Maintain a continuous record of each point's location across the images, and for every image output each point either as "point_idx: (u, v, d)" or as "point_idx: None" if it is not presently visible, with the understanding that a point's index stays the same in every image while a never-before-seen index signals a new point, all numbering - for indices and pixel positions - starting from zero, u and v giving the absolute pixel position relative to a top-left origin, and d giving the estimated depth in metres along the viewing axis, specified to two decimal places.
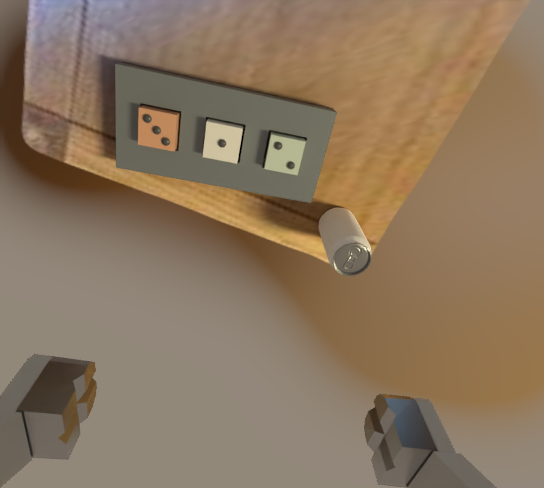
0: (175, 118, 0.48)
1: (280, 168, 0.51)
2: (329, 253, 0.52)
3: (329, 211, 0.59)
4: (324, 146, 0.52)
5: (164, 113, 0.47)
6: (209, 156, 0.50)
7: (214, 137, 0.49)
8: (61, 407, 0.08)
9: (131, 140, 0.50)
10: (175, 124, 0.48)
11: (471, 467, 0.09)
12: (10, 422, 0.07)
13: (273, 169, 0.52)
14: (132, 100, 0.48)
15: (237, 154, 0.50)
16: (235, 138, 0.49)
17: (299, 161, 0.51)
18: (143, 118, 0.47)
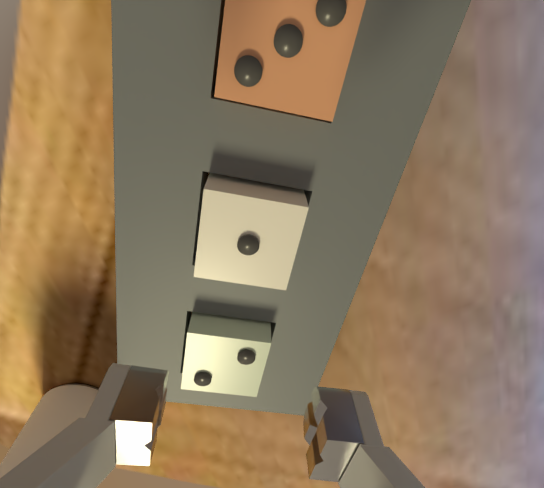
0: (323, 116, 0.15)
1: (192, 361, 0.22)
2: None
3: None
4: (243, 405, 0.26)
5: (341, 79, 0.14)
6: (207, 208, 0.17)
7: (264, 225, 0.17)
8: (150, 416, 0.08)
9: None
10: (303, 112, 0.15)
11: (396, 460, 0.08)
12: (105, 431, 0.08)
13: (188, 349, 0.21)
14: None
15: (219, 278, 0.19)
16: (261, 274, 0.19)
17: (213, 390, 0.23)
18: None
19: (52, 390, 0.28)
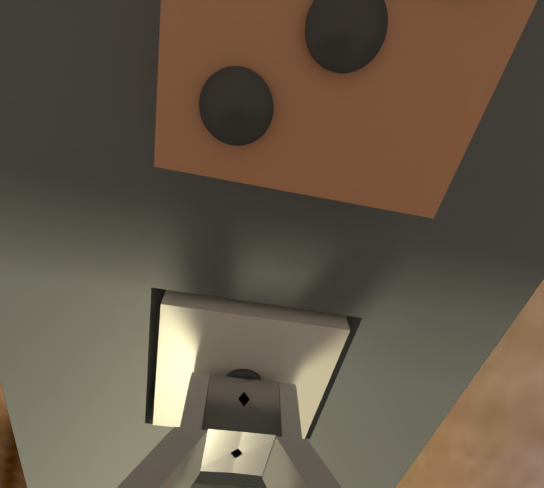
0: (413, 207, 0.06)
1: None
2: None
3: None
4: None
5: (468, 126, 0.06)
6: (169, 333, 0.09)
7: (270, 356, 0.10)
8: (239, 424, 0.08)
9: None
10: (368, 199, 0.06)
11: (312, 453, 0.08)
12: (200, 439, 0.08)
13: None
14: None
15: None
16: None
17: None
18: None
19: None
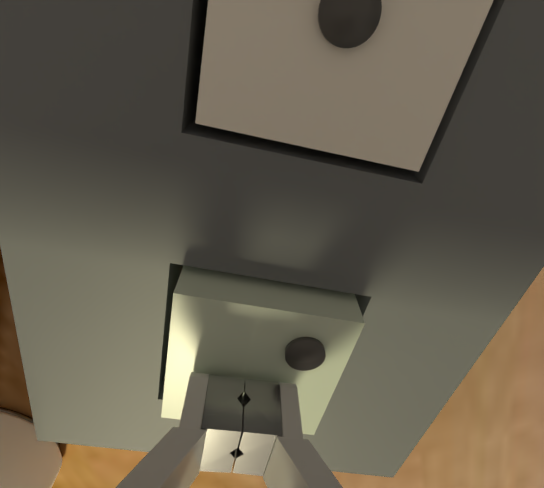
0: None
1: (186, 360, 0.10)
2: None
3: (33, 443, 0.16)
4: None
5: None
6: None
7: None
8: (238, 424, 0.08)
9: None
10: None
11: (313, 453, 0.08)
12: (198, 439, 0.08)
13: (176, 333, 0.09)
14: None
15: (260, 129, 0.07)
16: (366, 122, 0.07)
17: None
18: None
19: None
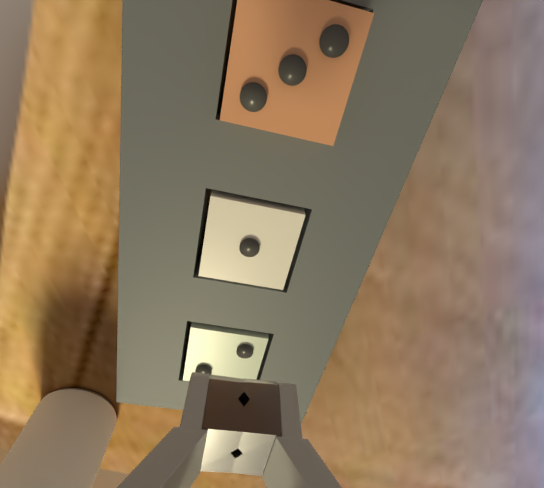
0: (324, 140, 0.15)
1: (194, 354, 0.23)
2: None
3: (104, 408, 0.29)
4: None
5: (342, 106, 0.15)
6: (213, 214, 0.18)
7: (264, 230, 0.19)
8: (239, 424, 0.08)
9: None
10: (305, 137, 0.15)
11: (312, 453, 0.08)
12: (200, 439, 0.08)
13: (191, 342, 0.23)
14: None
15: (222, 277, 0.20)
16: (260, 275, 0.20)
17: None
18: (336, 24, 0.13)
19: (51, 394, 0.29)
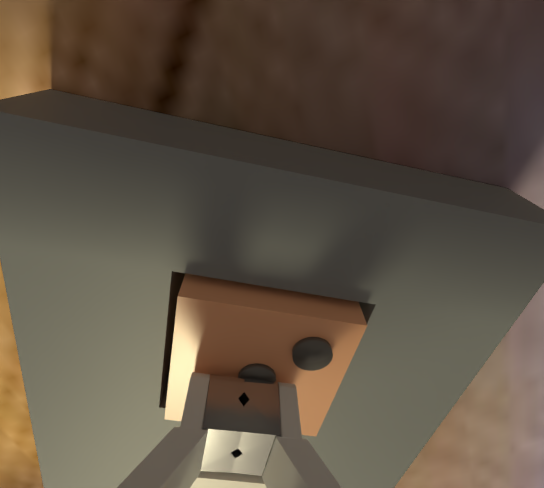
0: (303, 432, 0.12)
1: None
2: None
3: None
4: None
5: (326, 404, 0.11)
6: None
7: None
8: (239, 424, 0.08)
9: (185, 238, 0.09)
10: None
11: (311, 453, 0.08)
12: (200, 439, 0.08)
13: None
14: (392, 277, 0.09)
15: None
16: None
17: None
18: (315, 337, 0.10)
19: None
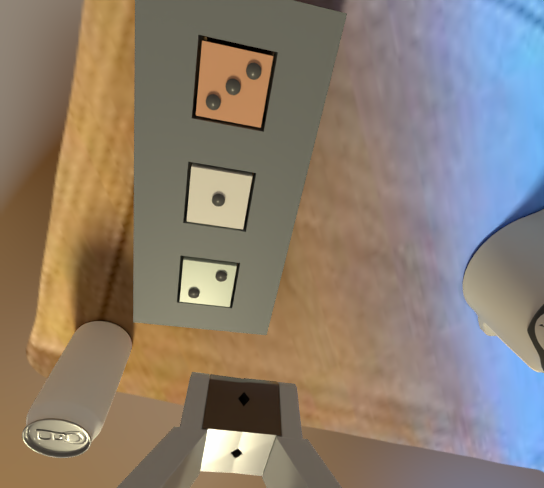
0: (255, 124, 0.27)
1: (187, 280, 0.34)
2: (57, 402, 0.30)
3: (122, 334, 0.40)
4: (221, 327, 0.37)
5: (263, 105, 0.27)
6: (193, 178, 0.29)
7: (227, 188, 0.30)
8: (239, 424, 0.08)
9: (203, 18, 0.24)
10: (244, 123, 0.27)
11: (312, 453, 0.08)
12: (199, 439, 0.08)
13: (184, 271, 0.33)
14: (282, 37, 0.25)
15: (202, 221, 0.31)
16: (227, 219, 0.31)
17: (200, 302, 0.35)
18: (254, 62, 0.25)
19: (83, 325, 0.39)
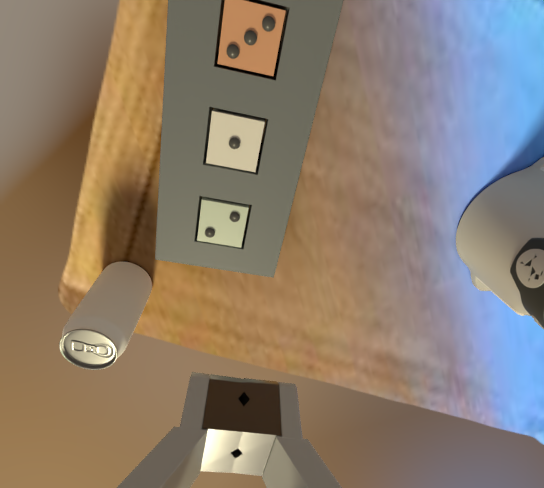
0: (268, 73, 0.31)
1: (204, 219, 0.38)
2: (90, 317, 0.35)
3: (144, 274, 0.44)
4: (233, 268, 0.42)
5: (275, 55, 0.31)
6: (213, 122, 0.33)
7: (242, 132, 0.34)
8: (239, 424, 0.08)
9: None
10: (259, 71, 0.31)
11: (312, 453, 0.08)
12: (199, 439, 0.08)
13: (202, 211, 0.38)
14: None
15: (219, 163, 0.35)
16: (241, 162, 0.35)
17: (215, 241, 0.40)
18: (269, 16, 0.29)
19: (110, 264, 0.44)
